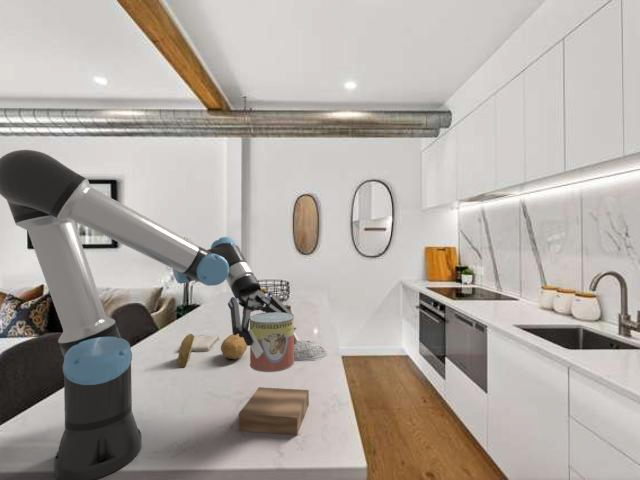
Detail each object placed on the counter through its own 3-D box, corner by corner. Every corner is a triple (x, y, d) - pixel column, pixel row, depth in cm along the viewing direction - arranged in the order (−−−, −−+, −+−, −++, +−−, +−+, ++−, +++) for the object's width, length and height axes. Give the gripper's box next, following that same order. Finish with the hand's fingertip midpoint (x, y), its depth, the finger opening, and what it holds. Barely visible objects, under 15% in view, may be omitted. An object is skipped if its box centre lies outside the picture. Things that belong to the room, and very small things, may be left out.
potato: (218, 365, 120) (217, 343, 120) (223, 352, 133) (223, 332, 133) (245, 363, 121) (245, 341, 121) (248, 351, 135) (248, 331, 135)
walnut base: (297, 435, 76) (297, 417, 76) (239, 430, 78) (238, 413, 78) (308, 404, 90) (308, 390, 90) (259, 401, 92) (258, 387, 92)
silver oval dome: (330, 360, 123) (328, 341, 123) (262, 365, 122) (261, 346, 123) (328, 350, 138) (327, 334, 139) (268, 355, 138) (267, 338, 138)
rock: (190, 362, 116) (205, 349, 126) (175, 343, 117) (191, 331, 126) (170, 378, 119) (187, 364, 129) (155, 359, 119) (173, 346, 129)
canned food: (252, 375, 79) (252, 324, 79) (247, 358, 89) (247, 313, 89) (299, 368, 82) (298, 320, 82) (288, 353, 93) (288, 310, 93)
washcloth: (220, 339, 153) (220, 332, 153) (209, 352, 135) (209, 345, 135) (193, 340, 152) (193, 333, 152) (179, 353, 134) (179, 346, 134)
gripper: (270, 286, 105) (305, 345, 94) (199, 296, 88) (232, 370, 77) (280, 270, 101) (318, 330, 91) (209, 277, 84) (245, 353, 74)
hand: (278, 349), depth 84 cm, fingers closed on canned food, 11 cm apart
